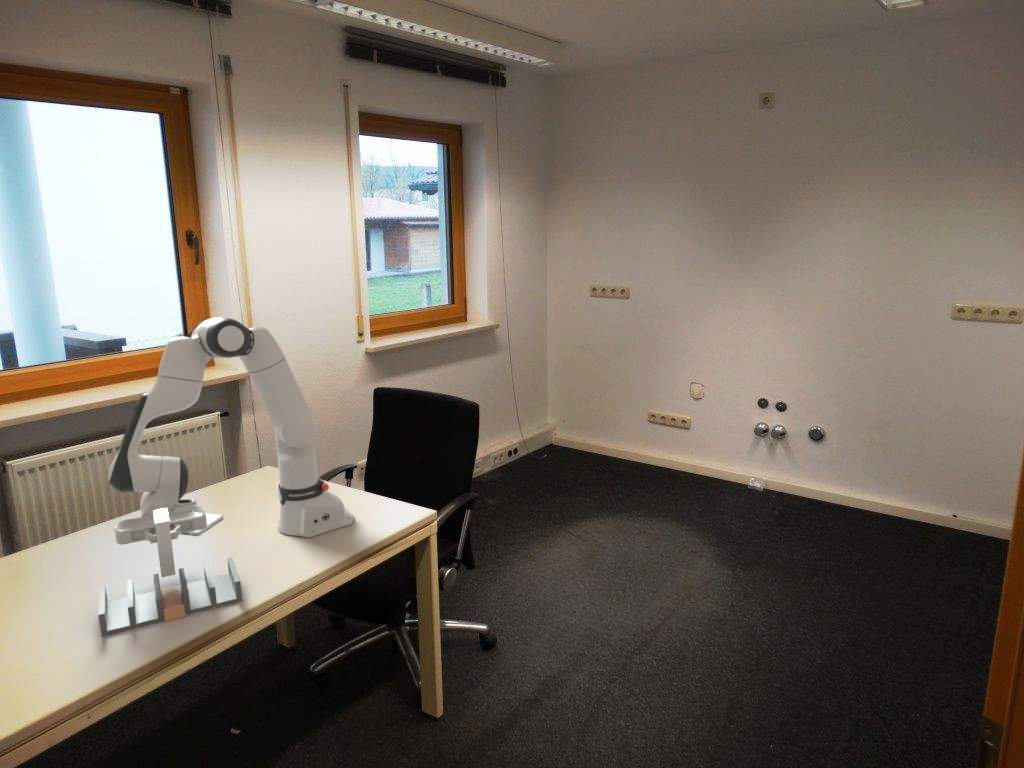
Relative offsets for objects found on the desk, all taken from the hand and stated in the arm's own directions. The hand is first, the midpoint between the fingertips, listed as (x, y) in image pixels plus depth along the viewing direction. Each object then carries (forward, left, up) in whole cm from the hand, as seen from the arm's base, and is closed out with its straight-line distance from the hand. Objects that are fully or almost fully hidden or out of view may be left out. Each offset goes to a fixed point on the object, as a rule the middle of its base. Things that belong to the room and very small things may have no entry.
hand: (163, 538), depth 164 cm
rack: (0, 0, -18) cm, 18 cm away
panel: (0, 0, -8) cm, 8 cm away
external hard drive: (-10, -45, -18) cm, 50 cm away
